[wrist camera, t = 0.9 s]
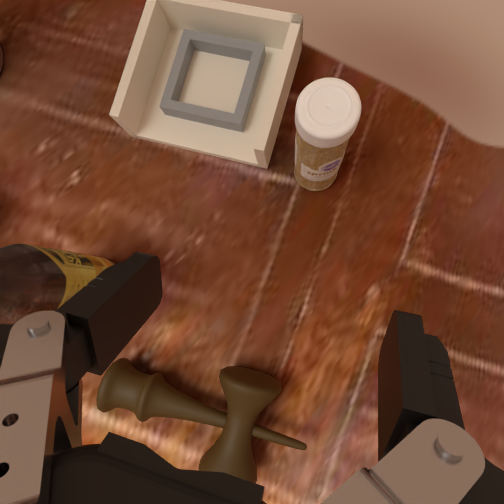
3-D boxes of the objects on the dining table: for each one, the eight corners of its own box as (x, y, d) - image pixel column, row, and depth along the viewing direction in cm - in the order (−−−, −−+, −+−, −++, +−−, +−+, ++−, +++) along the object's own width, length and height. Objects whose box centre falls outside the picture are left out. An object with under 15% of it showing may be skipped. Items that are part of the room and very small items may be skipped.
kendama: (135, 330, 39) (318, 385, 36) (111, 419, 38) (295, 483, 35) (104, 338, 33) (320, 405, 30) (75, 443, 33) (292, 523, 29)
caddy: (131, 136, 41) (109, 114, 36) (167, 23, 42) (150, -13, 37) (267, 169, 39) (263, 150, 34) (301, 49, 40) (303, 15, 35)
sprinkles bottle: (313, 201, 38) (325, 150, 24) (284, 169, 38) (281, 104, 25) (346, 172, 38) (377, 107, 24) (317, 141, 38) (331, 61, 25)
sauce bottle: (131, 257, 39) (-30, 222, 20) (128, 316, 39) (-41, 340, 19) (74, 258, 40) (-136, 224, 20) (71, 315, 39) (-150, 338, 20)
